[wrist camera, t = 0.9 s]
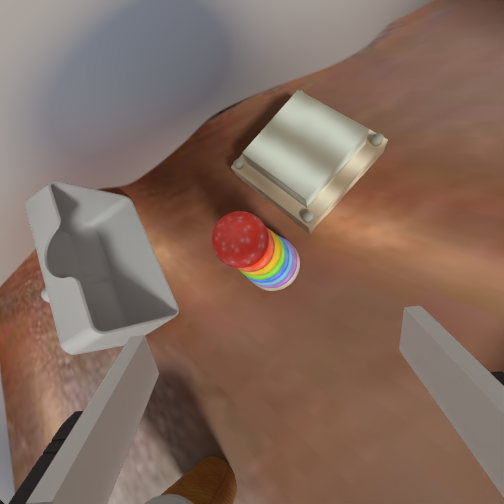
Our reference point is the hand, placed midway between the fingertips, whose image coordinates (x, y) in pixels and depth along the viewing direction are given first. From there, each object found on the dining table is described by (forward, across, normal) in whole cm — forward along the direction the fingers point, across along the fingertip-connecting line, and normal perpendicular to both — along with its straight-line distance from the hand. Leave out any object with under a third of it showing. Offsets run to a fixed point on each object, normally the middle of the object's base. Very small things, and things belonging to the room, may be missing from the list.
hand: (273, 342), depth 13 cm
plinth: (+32, +8, +5) cm, 33 cm away
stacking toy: (+24, +1, -8) cm, 26 cm away
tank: (+30, -26, -9) cm, 41 cm away
